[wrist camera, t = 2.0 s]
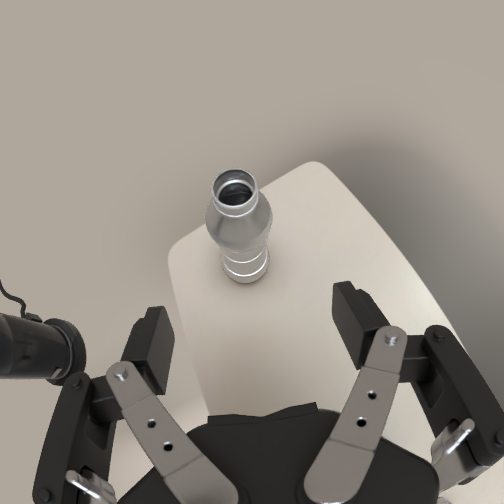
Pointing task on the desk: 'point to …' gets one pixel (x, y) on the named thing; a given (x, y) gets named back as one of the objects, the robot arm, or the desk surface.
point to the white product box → (443, 501)
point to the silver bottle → (240, 224)
